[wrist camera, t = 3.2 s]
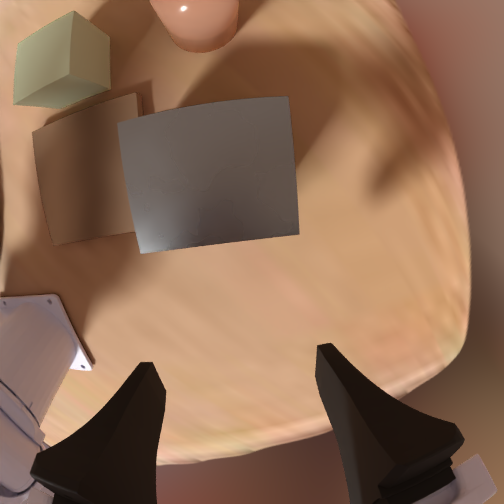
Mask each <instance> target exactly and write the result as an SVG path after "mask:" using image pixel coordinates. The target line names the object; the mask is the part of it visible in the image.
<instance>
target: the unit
mask: <svg viewBox="0 0 504 504" xmlns="http://www.w3.org/2000/svg"><path fill="white" fill-rule="evenodd" d="M117 126H118V135H119V143H120V150H121V158H122V164H123V171H124V177H125V183H126V188H127V194H128V199H129V204H130V209H131V214H132V219H133V223H134V228H135V232H136V236H137V241H138V245H139V249H140V253H141V254H144V253H151V252H159V251H167V250H174V249H182V248H190V247H198V246H206V245H214V244H222V243H230V242H239V241H247V240H255V239H264V238H272V237H281V236H290V235H299V216H298V199H297V184H296V171H295V158H294V147H293V136H292V126H291V116H290V107H289V98H288V96H279V97H261V98H248V99H238V100H229V101H221V102H213V103H206V104H200V105H194V106H188V107H182V108H177V109H172V110H167V111H162V112H158V113H154V114H149V115H145V116H141V117H137V118H133V119H130V120H126V121H122V122H119V123H117Z"/></svg>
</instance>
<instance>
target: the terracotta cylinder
mask: <svg viewBox="0 0 504 504" xmlns="http://www.w3.org/2000/svg"><path fill="white" fill-rule="evenodd" d="M150 3H151V5H152V7H153V8H154V10H155V11H156V13H157V15H158V16H159V18H160V20H161V21H162V23H163V24H164V26H165V28H166V29H167V31H168V33H169V34H170V36H171V38H172V39H173V41H174V42H175V44H176V45H177V46H179V47H180V48H182V49H184V50H186V51H189V52H195V53H203V52H210V51H213V50H216V49H219V48H220V47H222V46H224V45H225V44H227V43H228V42H229V41H230V40H231V39H232V38H233V36H234V35H235V33H236V30H237V26H238V8H239V0H150Z"/></svg>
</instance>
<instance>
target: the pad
mask: <svg viewBox="0 0 504 504" xmlns="http://www.w3.org/2000/svg"><path fill="white" fill-rule="evenodd" d="M141 116H143V106H142V95H140V94H138V93H137V92H135V93H131V94H128V95H125V96H121V97H118V98H115V99H112V100H109V101H106V102H103V103H100V104H97V105H94V106H91V107H89V108H86V109H83V110H81V111H78V112H76V113H73V114H71V115H69V116H66V117H64V118H62V119H59V120H57V121H55V122H53V123H50V124H48V125H46V126H44V127H42V128H40V129H38V130H36V131H34V132H32V136H33V147H34V156H35V164H36V170H37V177H38V183H39V188H40V194H41V199H42V203H43V208H44V212H45V217H46V221H47V225H48V228H49V232H50V236H51V239H52V243H53V246H56V245H61V244H67V243H72V242H77V241H83V240H88V239H94V238H99V237H105V236H111V235H117V234H123V233H129V232H135V228H134V223H133V219H132V214H131V209H130V204H129V199H128V194H127V188H126V183H125V177H124V171H123V164H122V158H121V150H120V143H119V135H118V126H117V123H119V122H122V121H126V120H130V119H133V118H137V117H141Z"/></svg>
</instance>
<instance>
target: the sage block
mask: <svg viewBox="0 0 504 504" xmlns="http://www.w3.org/2000/svg"><path fill="white" fill-rule="evenodd" d="M108 90H111V77H110V37H109V36H108V35H107V34H105V33H104V32H103V31H101V30H100V29H99V28H97V27H96V26H95V25H93V24H92V23H91V22H89V21H88V20H87V19H85V18H84V17H83V16H81V15H80V14H78V13H77V12H76V11H72V12H70V13H68V14H66V15H64V16H62V17H60V18H58V19H57V20H55V21H53V22H51V23H49V24H48V25H46V26H44V27H43V28H41V29H39V30H38V31H36V32H35V33H33V34H32V35H30V36H29V37H27V38H26V39H24V40H23V41H21V42H20V43H18V47H17V54H16V63H15V74H14V94H13V105H22V106H36V107H47V108H56V109H62V108H64V107H67V106H69V105H71V104H74V103H76V102H78V101H81V100H83V99H86V98H88V97H91V96H94V95H96V94H99V93H102V92H105V91H108Z"/></svg>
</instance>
